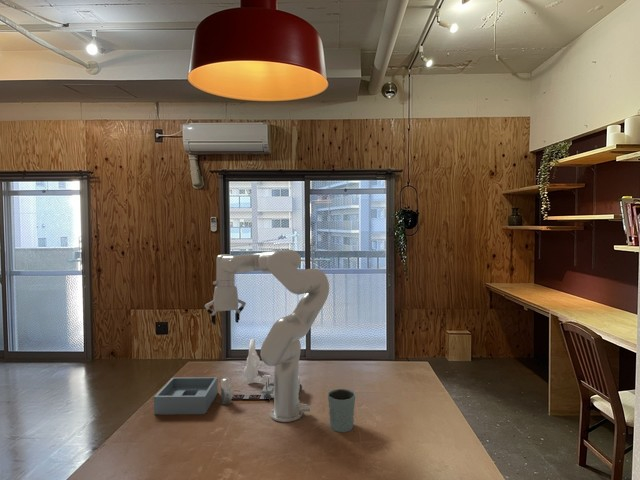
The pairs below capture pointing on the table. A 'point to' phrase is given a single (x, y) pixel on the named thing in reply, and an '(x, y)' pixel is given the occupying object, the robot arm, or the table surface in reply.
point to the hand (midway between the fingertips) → (225, 323)
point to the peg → (225, 391)
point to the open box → (186, 395)
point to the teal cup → (341, 409)
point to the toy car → (272, 386)
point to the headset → (252, 363)
